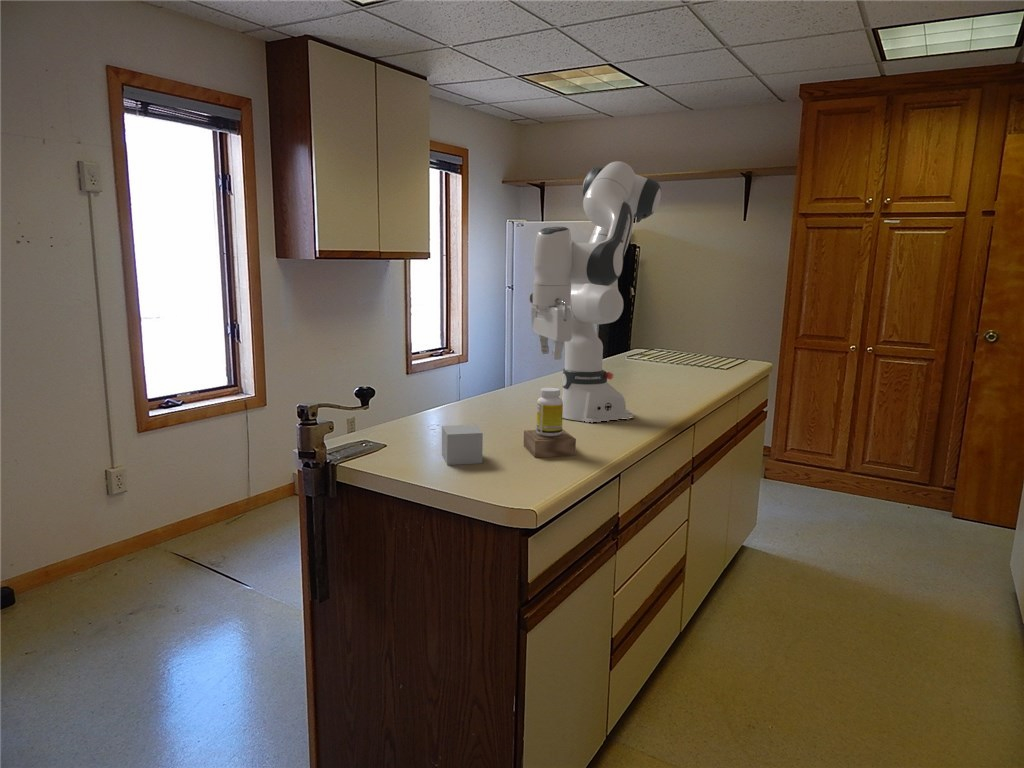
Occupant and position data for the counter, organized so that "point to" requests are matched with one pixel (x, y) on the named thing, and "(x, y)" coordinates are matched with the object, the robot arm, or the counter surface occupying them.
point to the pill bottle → (549, 413)
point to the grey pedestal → (462, 444)
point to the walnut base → (549, 444)
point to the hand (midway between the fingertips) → (550, 356)
